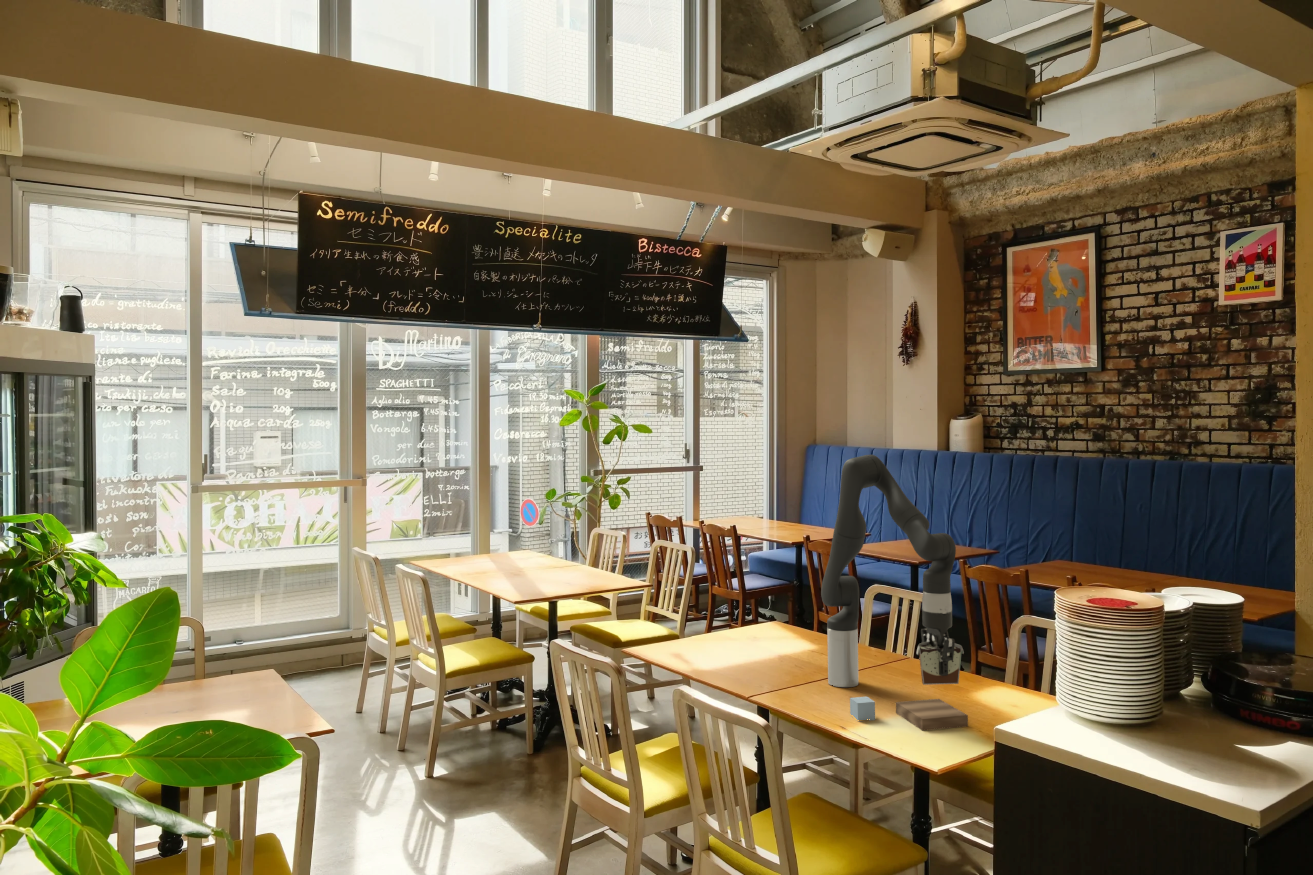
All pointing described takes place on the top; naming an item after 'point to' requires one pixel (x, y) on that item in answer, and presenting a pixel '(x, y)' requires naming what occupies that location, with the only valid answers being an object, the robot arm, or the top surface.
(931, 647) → the food container
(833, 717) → the top surface
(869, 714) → the slate cube
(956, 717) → the walnut slab
